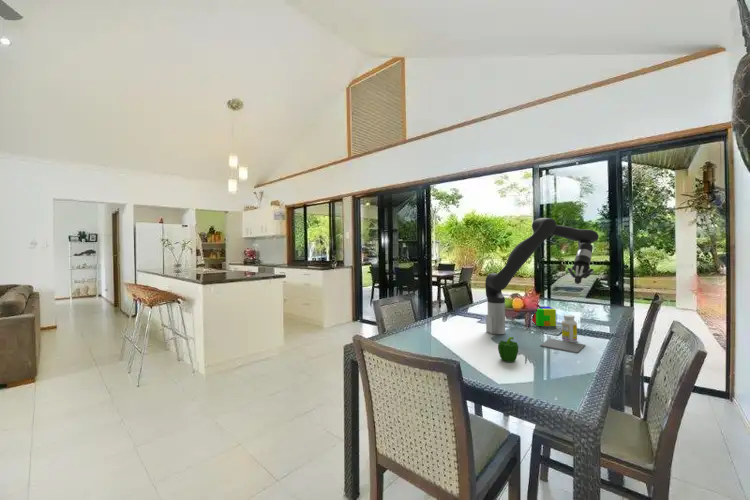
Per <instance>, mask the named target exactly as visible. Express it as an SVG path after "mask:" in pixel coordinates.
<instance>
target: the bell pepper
mask: <svg viewBox="0 0 750 500" xmlns="http://www.w3.org/2000/svg"><path fill="white" fill-rule="evenodd" d="M512 340H514V337H513V336H510V337H508V338H507V340H506V341H505V340H499V342H498V344H497V350H498V354H499V357H500V359H501V360H502V361H505V362H508V363H514V362H515V361H516V360H517V357H518V354H519V344H518V342H517V341H512Z"/></svg>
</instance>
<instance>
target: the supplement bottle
mask: <svg viewBox="0 0 750 500" xmlns="http://www.w3.org/2000/svg"><path fill="white" fill-rule="evenodd" d="M561 341H567V342H573V343H577V341H578V324H577V321H576V320H575V315H572V314H564V315H563V320H562V321H561Z"/></svg>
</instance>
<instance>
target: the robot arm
mask: <svg viewBox="0 0 750 500" xmlns="http://www.w3.org/2000/svg"><path fill="white" fill-rule="evenodd" d="M531 229H532V231H533V232H534V233H532V235H531V236H529V237H526V239H524V240H522V241H521V242H519V243H518V244H517V245H516V246H515V247H514V249H512V250H511V252H510V253H509V256H508V257H507V258H508V259H507V261H506V264H505V265H504V267H502V269H501V270H500V271H499V272H498V273H497V272H491V273H488V275H487V276H486V277H485V283H484V284H485V296H486V299H487V300H486V301H487V314H486V315H485V324H486V325H485V326H486V327H485V328H486V329H485V330H486V331H485V332H487V333H489V334H491V335H504V334H506V298H505V296H504V295H503V293H502V291H503V290H504V289H506V288H507V287H508V285H509V283H511V280H512V279H513V278H514V276H515V275H516V274H517V273H518V272H519V270H520V269H521V268H522V267H523V266H524V265H525V263H526V262H527V261H528V260H529V259H530V257H531V256H532V255H533V254H534V253H535V252H536V251H537V249H538V248H539V247H540V246H541V244H542V243H544V242H545V240H547V239H548V237H550V236H555V237H560V238H563V239H567V240H570V241H572V242H573V241H574V242H577V245H578V247H577V252H576V253H575V258H574V262H573V265H572V266H571V267H567V268H566V269H567V272H568V273H569V275H570V276H571V277H572V278H574V283H575V284H576V285H580V284H581V283H582V279H586V278H588V277H590V276H591V275H592V274H594V269H593V268H590V264H591V261H592V256H593V255H592V253H593V249H594V247H593V243H595V242H596V241H598V240H599V238H600V237H599V233H597V232H596V230H593V229H585V228H584V229H581V228H580V229H579V228H576V227H572V226H566V225H558V224H557V222H556V220H554V219H553V218H550V217H540V218H539V217H538V218H536V219H535V220H534V221H533V222H532V224H531Z"/></svg>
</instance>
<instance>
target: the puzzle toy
mask: <svg viewBox="0 0 750 500" xmlns="http://www.w3.org/2000/svg"><path fill="white" fill-rule="evenodd" d="M539 308H540V309H537V312H536V313H535V314H534V315H533V316H532V315H531V322H532V321H533V322H534V323H535V324H536V325H535V324H534V323H533V324H534V325H535V326H537V325H538V326H556V327H557V313H556V312H557V310H556V309H555V308H553V307H551V306H548V305H547V306H543V305H539ZM538 326H537V327H538Z"/></svg>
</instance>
